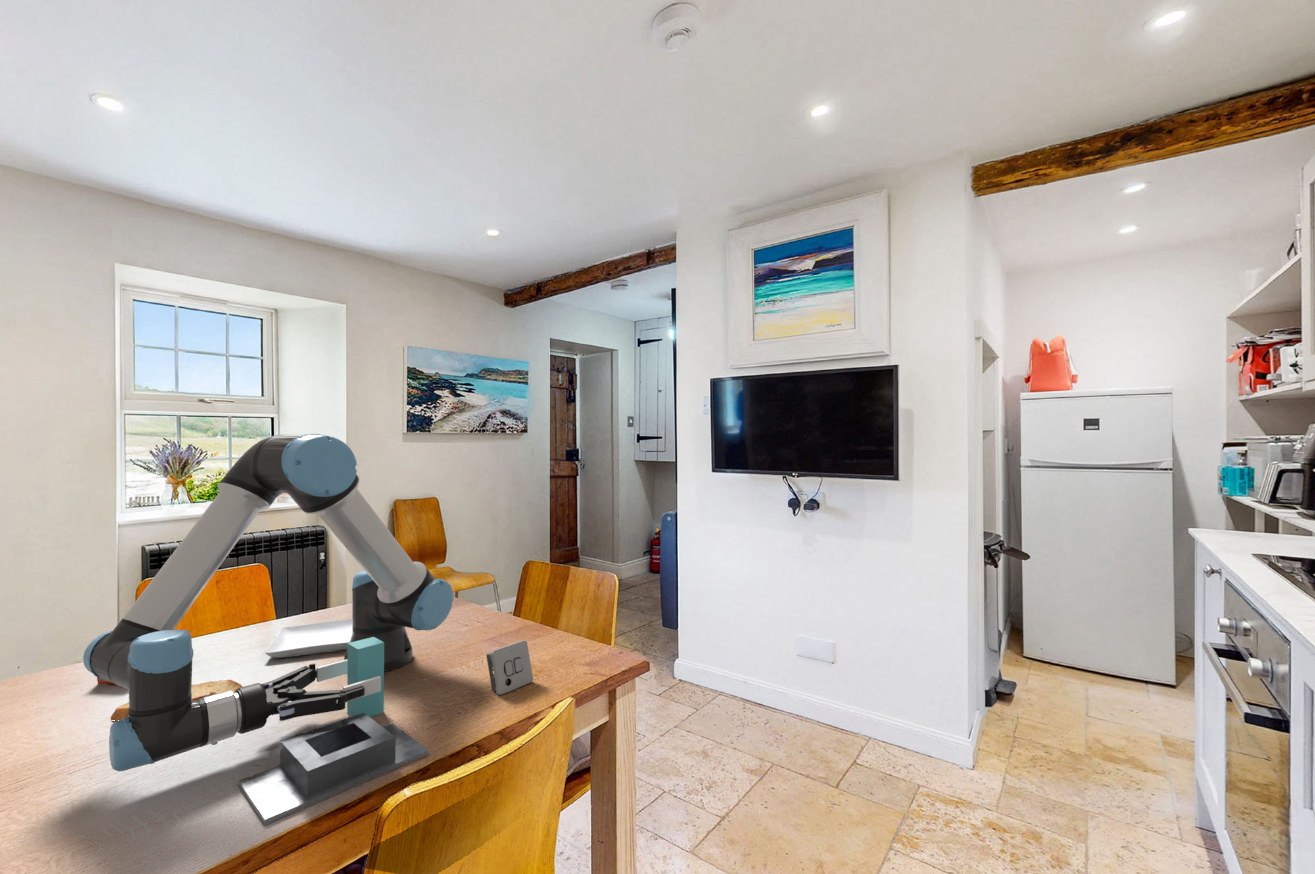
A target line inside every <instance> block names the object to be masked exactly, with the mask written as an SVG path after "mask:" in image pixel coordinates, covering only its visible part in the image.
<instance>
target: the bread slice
mask: <svg viewBox="0 0 1315 874" xmlns="http://www.w3.org/2000/svg"><path fill="white" fill-rule="evenodd" d="M241 687H244V686H243V685H242V684H241V683H239V682H236V681H235V680H232V679H226V680H218V681H217V680H216V681H215V680H214V681H205V682H200V683H198V684H192V685H191V693H192V698H191V701H193V700H197V699H200V698H204V697H207V696H211V695H214V694H218V693H221V692H225V691H229V690H231V691H233V693H234V692H235V691H236V690H237V689H238V688H241ZM128 712H129V701H128V702H126V703H124V704H122V705H120V706H118V707H116V708H115V710H114V712H113V713H112V714H111V716H110V718H111V720H115V721H118V720H122V719H123V718H126V717H128Z"/></svg>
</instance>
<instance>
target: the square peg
mask: <svg viewBox="0 0 1315 874" xmlns="http://www.w3.org/2000/svg"><path fill="white" fill-rule="evenodd" d="M346 676H347V677H346V678H347V679H346V680H347V685H346V686H348V685H351V684H354V683H357V682H361V681H364V680H367V679H371V678H374V677H377V676H380V677H381V691H380V692H377V693H374V694H370V695H367V696H364V697H361V698H358V699H355V700H352V701H349V702H346V705H347V707H346V713H347V715H348V717H352V716H355V715H358V714H361V713H363V712H364V713H365V714H366V715H368V716H369V717H370V718H372V717H375V716H378V715H381V714H383V713H384V711H385V707H384V706H385V698H384V697H385V688H384V687H385V671H384V642H382V641H381V640H379V639H377V638H375V637H371V638H367V639H363V640H359V641H355V642H351V643H348V673H347V674H346Z"/></svg>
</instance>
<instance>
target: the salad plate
mask: <svg viewBox="0 0 1315 874" xmlns="http://www.w3.org/2000/svg"><path fill="white" fill-rule="evenodd" d="M352 627H353V625H352V618H347V619H339V620H338V619H337V620H330V621H329V620H327V621H320V622H315V623H314V622H312V623H305V624H299V625H291V626H284V627H282V628H281V629H279V631H278V633H277V634H276V636H275V637H274V639H273V640H272V641H271V643H270V644H269V645H268V647H267V648H266V649H265V652H264V653H265V654H266V655H267V656H268V657H270V658H276V659H277V658H278V659H282V658H293V656H295V657H301V656H300V655H303V656H309V655H310V654H311V655H316V654H317V653H319V654H325V653H333V652H339V651H345V650H347V648H348V643H349V642H350V639H351V637H352ZM344 649H345V650H344ZM332 651H333V652H332Z"/></svg>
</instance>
